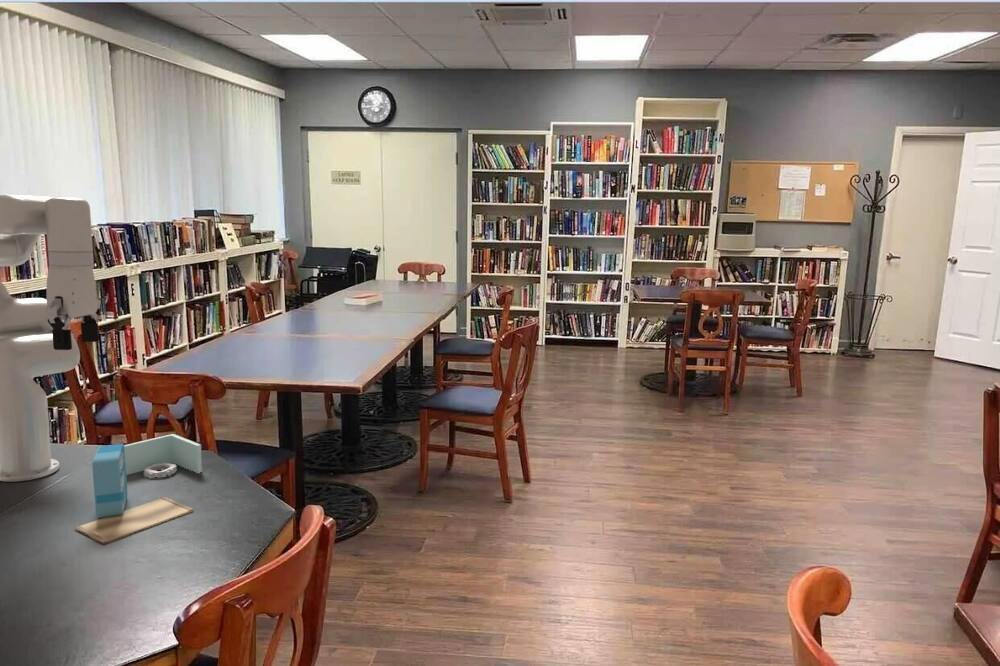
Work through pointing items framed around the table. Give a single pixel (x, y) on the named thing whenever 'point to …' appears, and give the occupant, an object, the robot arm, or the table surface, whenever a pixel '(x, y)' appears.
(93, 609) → the table surface
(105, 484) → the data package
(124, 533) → the wooden board
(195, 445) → the mint corner bracket
